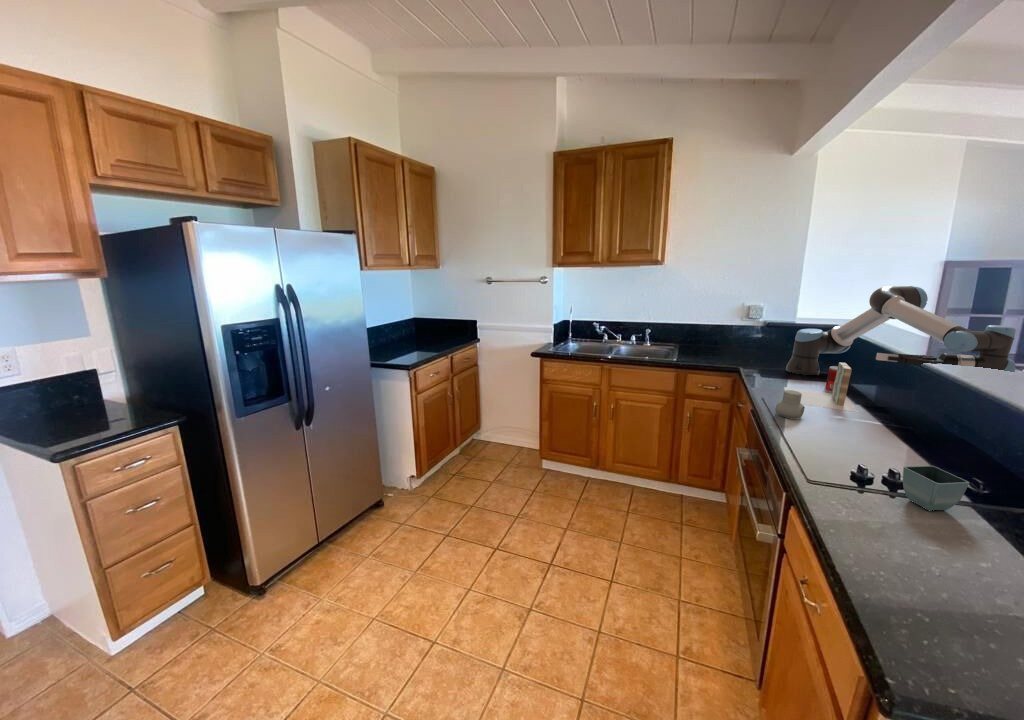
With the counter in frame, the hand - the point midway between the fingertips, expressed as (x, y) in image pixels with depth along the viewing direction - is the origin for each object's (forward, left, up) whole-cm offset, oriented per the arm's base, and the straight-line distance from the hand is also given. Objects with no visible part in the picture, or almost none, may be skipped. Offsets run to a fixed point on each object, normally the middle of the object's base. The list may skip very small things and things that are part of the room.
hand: (877, 356), depth 175 cm
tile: (-4, -9, -21) cm, 23 cm away
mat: (-7, -15, -22) cm, 28 cm away
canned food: (-22, +1, -22) cm, 31 cm away
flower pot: (+77, -36, -22) cm, 88 cm away
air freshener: (+16, -39, -22) cm, 48 cm away
